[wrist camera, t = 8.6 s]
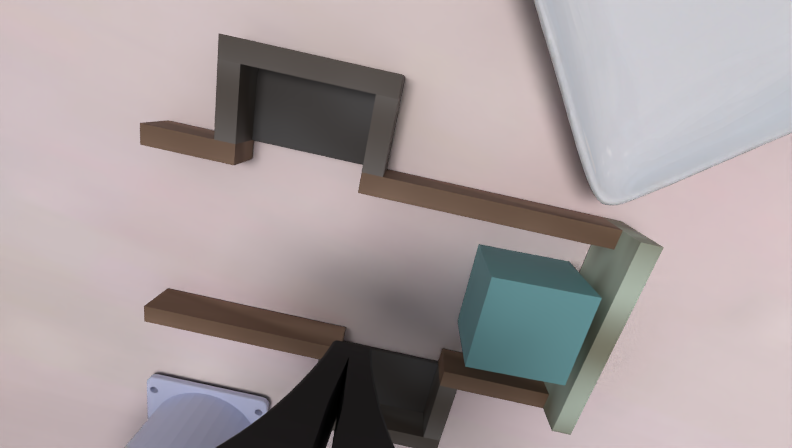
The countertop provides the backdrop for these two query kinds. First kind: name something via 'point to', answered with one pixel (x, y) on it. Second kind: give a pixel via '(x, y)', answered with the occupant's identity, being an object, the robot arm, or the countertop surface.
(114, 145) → the countertop surface
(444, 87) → the countertop surface
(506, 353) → the teal block
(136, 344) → the countertop surface
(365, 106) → the trap channel
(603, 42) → the salad plate
